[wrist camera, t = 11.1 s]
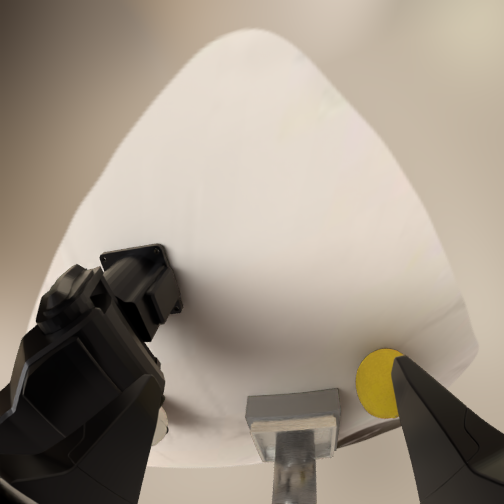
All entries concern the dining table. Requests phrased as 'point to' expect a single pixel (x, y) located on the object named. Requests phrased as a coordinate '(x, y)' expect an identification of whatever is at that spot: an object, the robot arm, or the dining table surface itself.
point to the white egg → (160, 427)
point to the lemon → (377, 383)
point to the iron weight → (294, 469)
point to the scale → (294, 420)
